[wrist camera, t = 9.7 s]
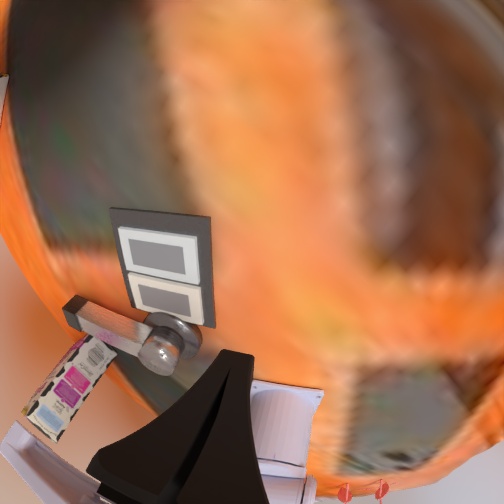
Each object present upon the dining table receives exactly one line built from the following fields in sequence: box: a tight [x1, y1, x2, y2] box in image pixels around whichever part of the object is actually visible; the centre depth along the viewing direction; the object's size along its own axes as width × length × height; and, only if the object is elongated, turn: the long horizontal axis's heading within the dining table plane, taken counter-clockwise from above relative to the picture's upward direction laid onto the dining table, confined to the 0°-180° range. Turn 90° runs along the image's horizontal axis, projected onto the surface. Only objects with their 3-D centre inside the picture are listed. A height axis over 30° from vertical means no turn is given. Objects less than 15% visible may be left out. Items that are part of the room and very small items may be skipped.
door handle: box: [62, 295, 185, 376], centre depth 24 cm, size 14×4×3 cm, turn 82°
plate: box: [109, 207, 216, 329], centre depth 22 cm, size 10×9×1 cm
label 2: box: [128, 272, 204, 325], centre depth 23 cm, size 4×7×1 cm, turn 88°
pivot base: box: [143, 312, 202, 359], centre depth 25 cm, size 6×6×1 cm
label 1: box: [118, 227, 200, 285], centre depth 21 cm, size 4×7×1 cm, turn 88°
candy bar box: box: [21, 334, 117, 443], centre depth 26 cm, size 11×5×16 cm, turn 128°
